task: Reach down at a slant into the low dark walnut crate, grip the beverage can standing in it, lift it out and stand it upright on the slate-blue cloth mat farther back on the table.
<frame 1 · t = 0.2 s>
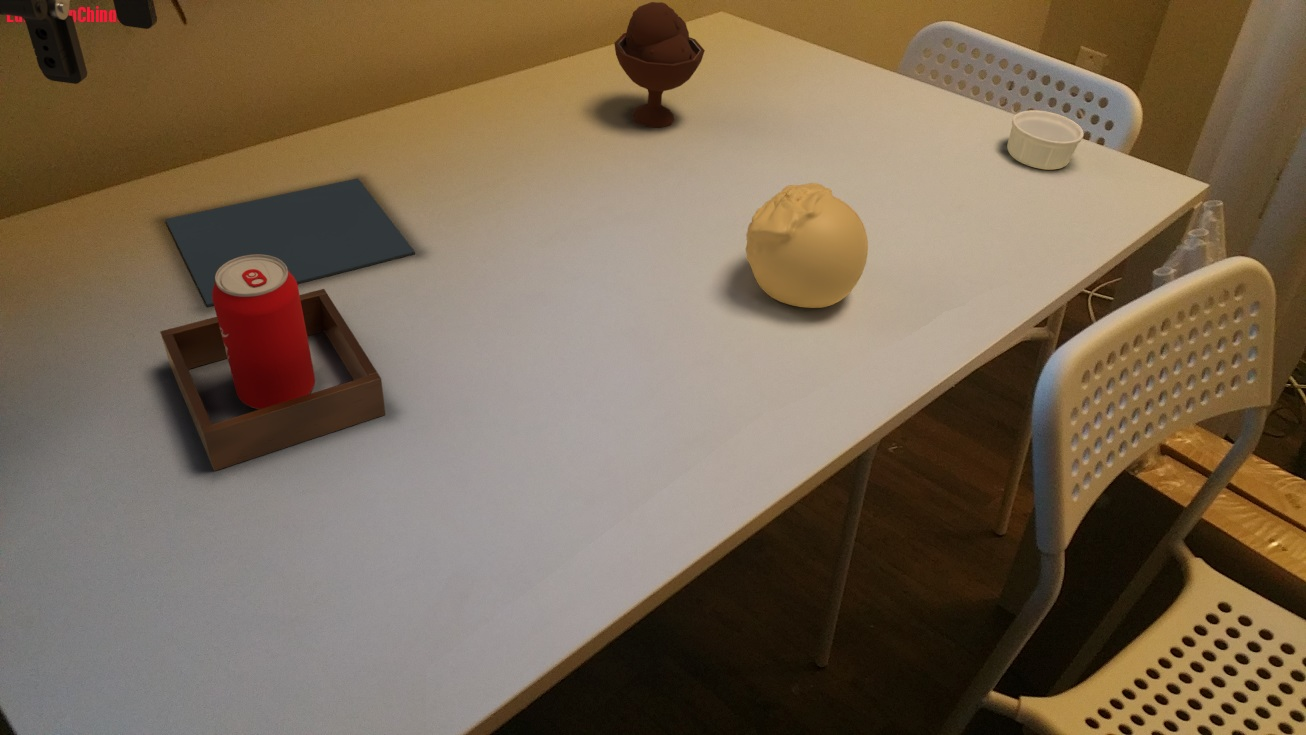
hand: (104, 51, 59), 31 cm above the table, tool pointing down, fingers open, 8 cm apart
beverage can: (277, 392, 82), resting in crate
crate: (277, 391, 82), on the table
ice cream bowl: (652, 119, 127), on the table
sculpture: (796, 289, 101), on the table
cloth mat: (290, 237, 99), on the table
ramekin: (1036, 157, 128), on the table
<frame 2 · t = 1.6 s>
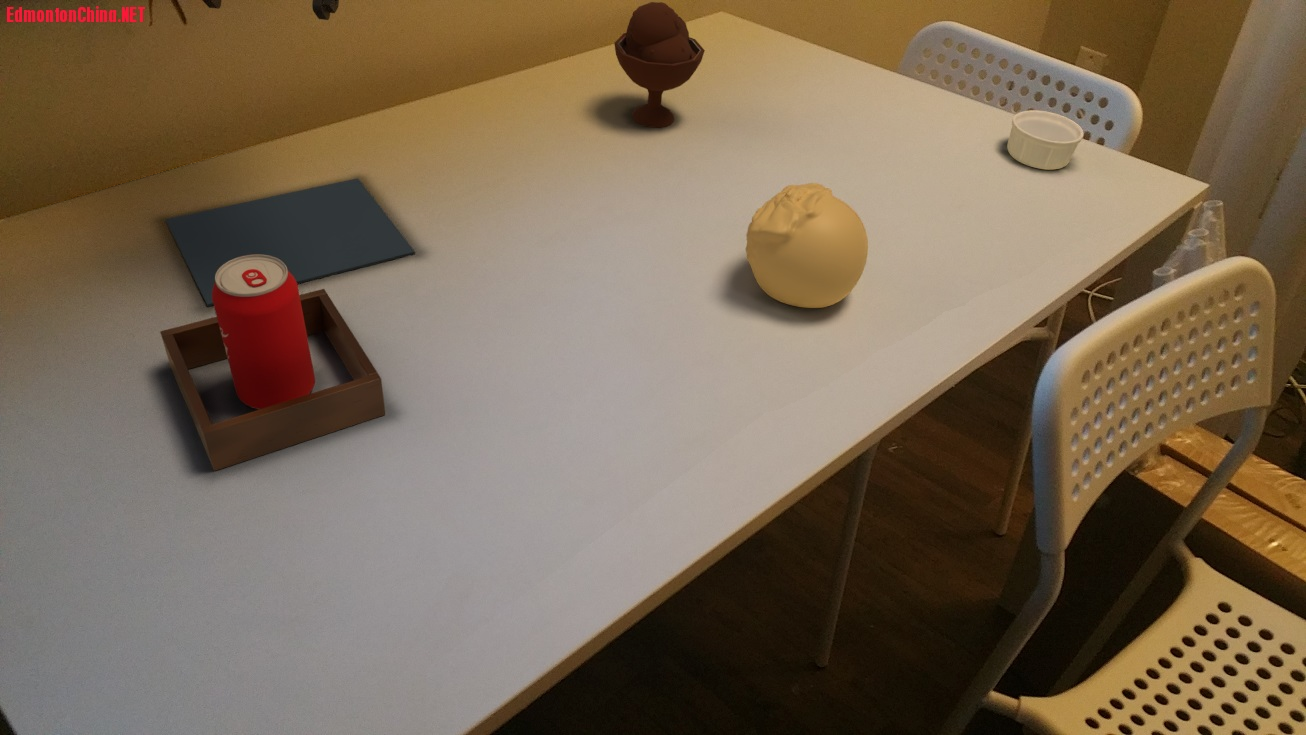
hand: (265, 10, 76), 27 cm above the table, tool tilted 45°, fingers open, 8 cm apart
nothing on the table moved.
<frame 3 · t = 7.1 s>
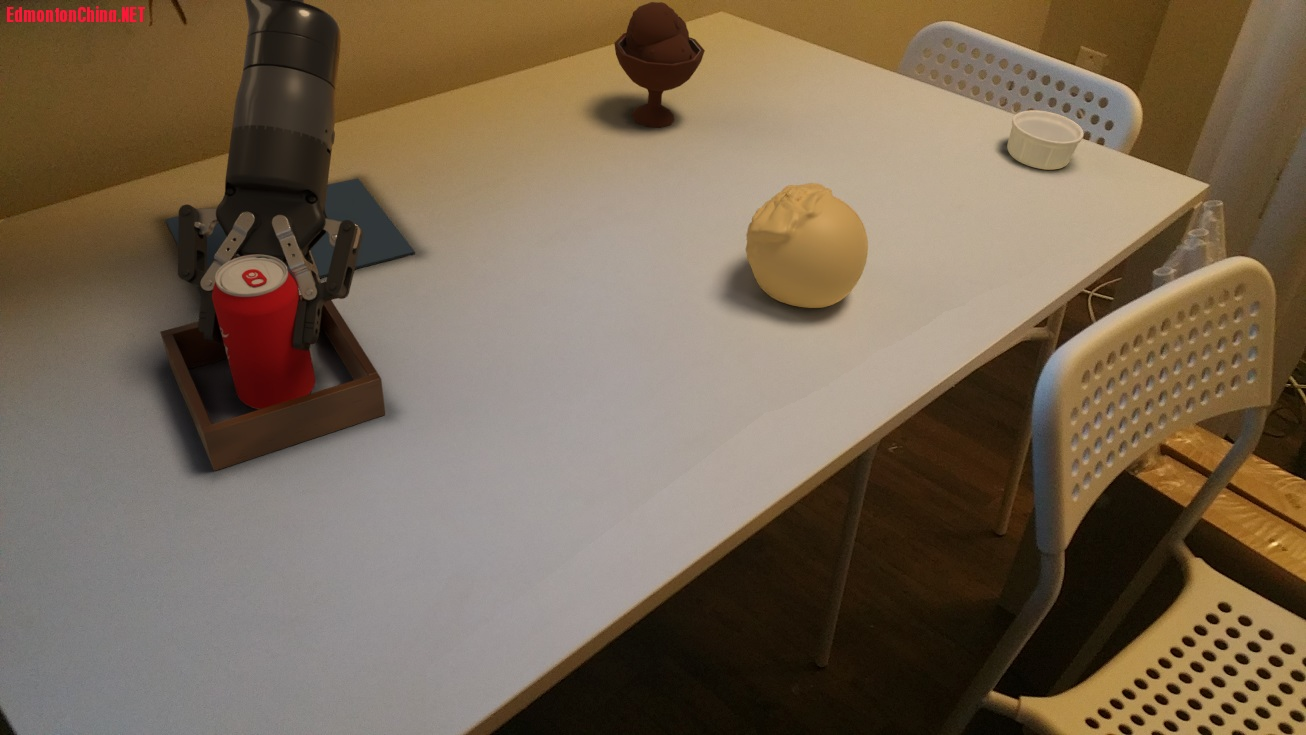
hand: (257, 345, 77), 6 cm above the table, tool tilted 45°, fingers closed on beverage can, 6 cm apart
beverage can: (277, 392, 82), resting in crate, touching gripper
everything else where it was.
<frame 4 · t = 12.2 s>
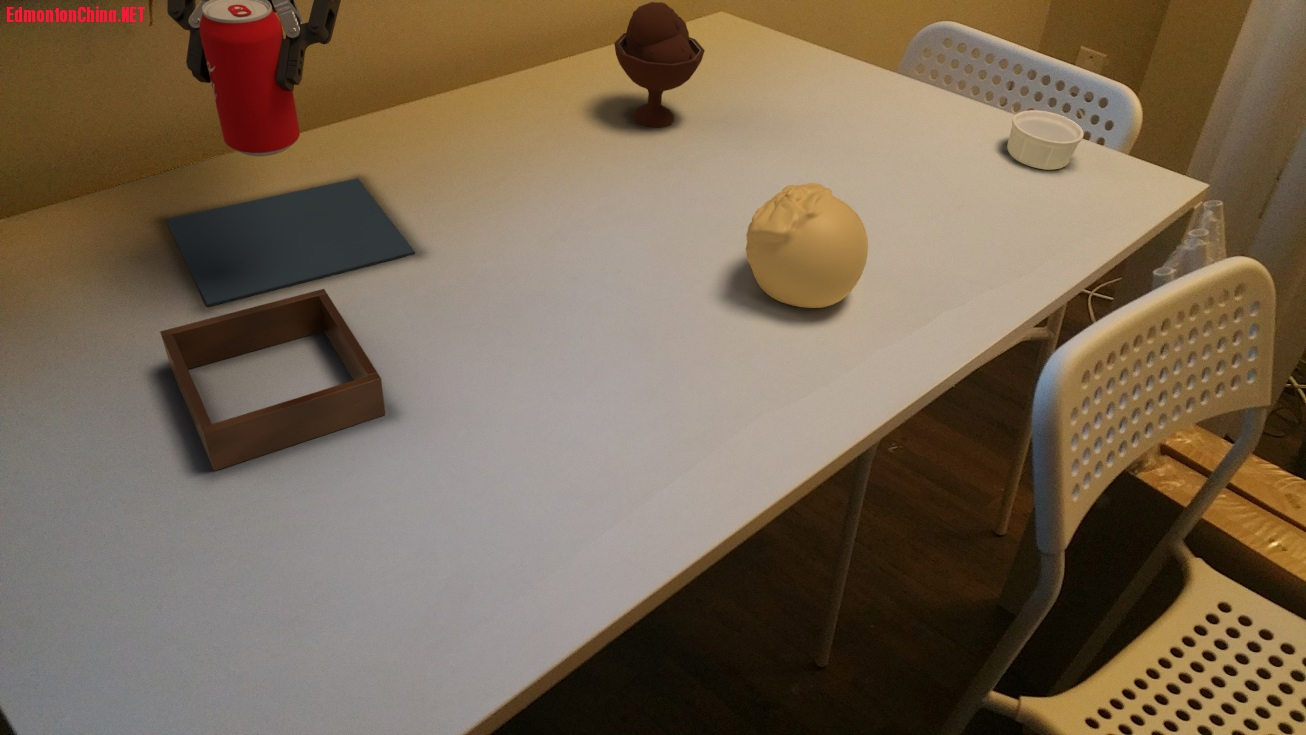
hand: (243, 83, 80), 20 cm above the table, tool tilted 45°, fingers closed on beverage can, 6 cm apart
beverage can: (263, 145, 86), point 14 cm above the table, touching gripper
everything else where it was.
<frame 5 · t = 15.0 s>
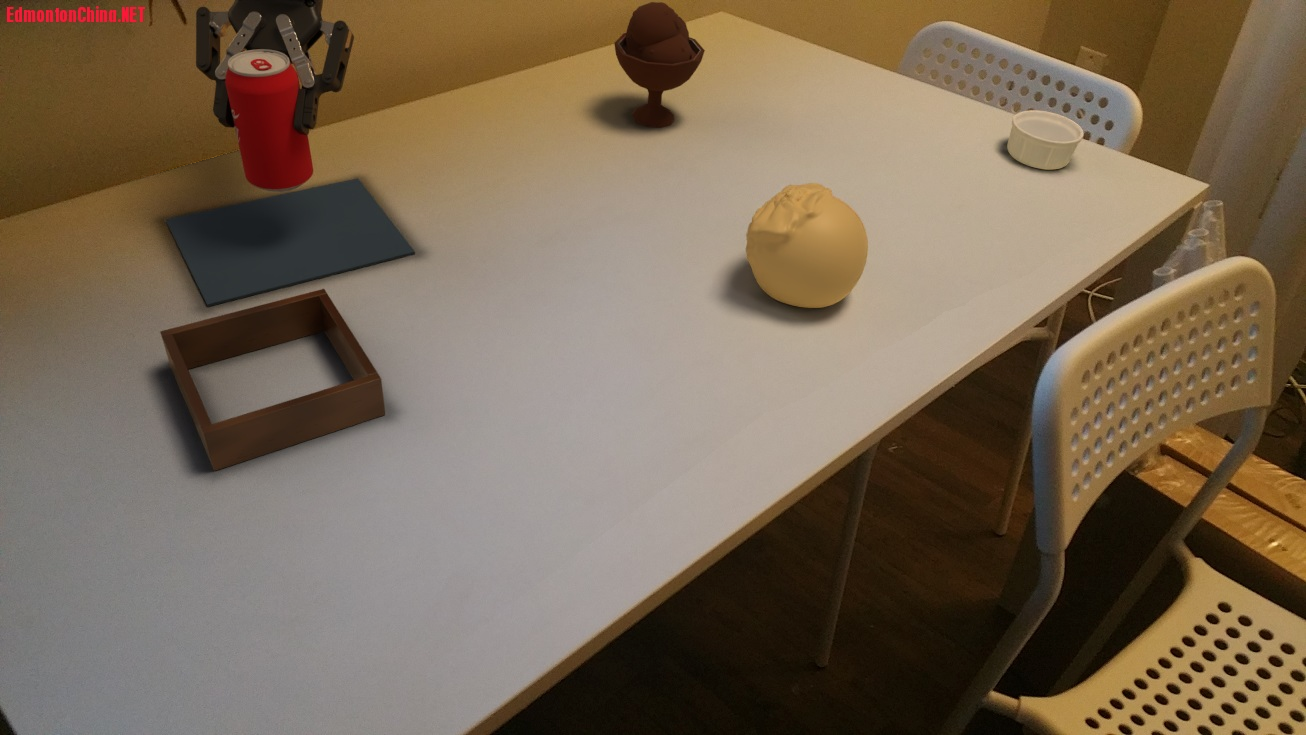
hand: (263, 128, 90), 13 cm above the table, tool tilted 45°, fingers closed on beverage can, 6 cm apart
beverage can: (281, 181, 95), point 6 cm above the table, touching gripper
everything else where it was.
when the fingers open (7 cm above the table, at t = 17.3 s): beverage can stays where it is, resting on cloth mat.
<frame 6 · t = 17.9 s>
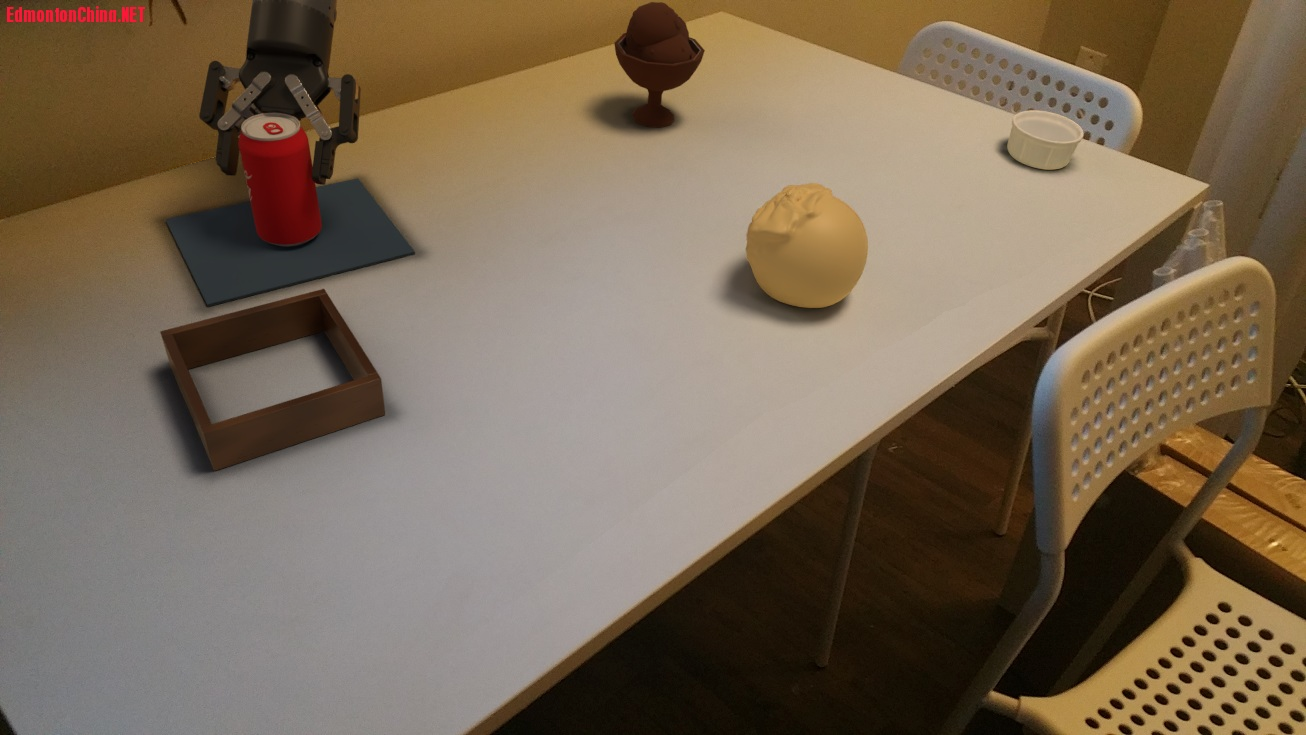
hand: (273, 178, 94), 8 cm above the table, tool tilted 45°, fingers open, 8 cm apart
beverage can: (290, 235, 99), resting on cloth mat
everything else where it was.
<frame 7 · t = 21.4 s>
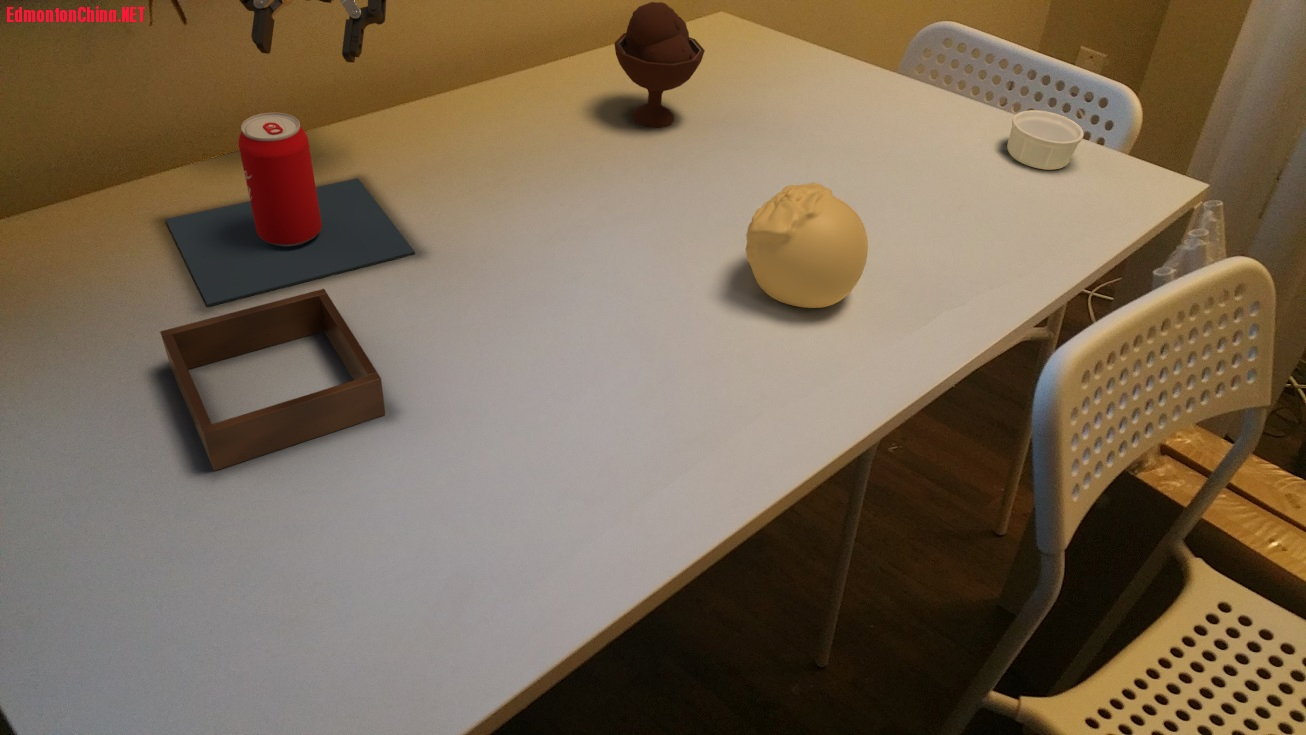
hand: (305, 55, 99), 14 cm above the table, tool tilted 45°, fingers open, 8 cm apart
nothing on the table moved.
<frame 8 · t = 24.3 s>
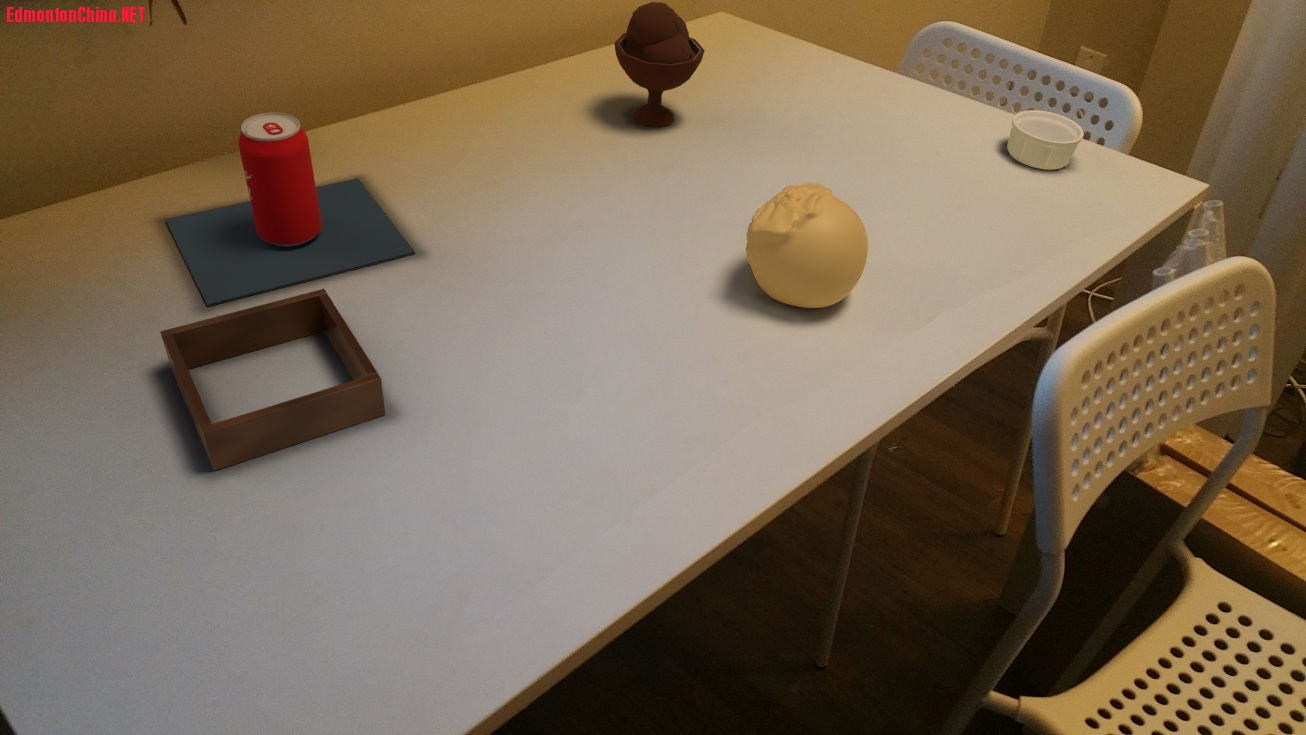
nothing on the table moved.
at the end: beverage can inside the target area on the cloth mat (0.1 cm from its centre), point 0.1 cm above the cloth mat's base; beverage can tilted 0°; the gripper is holding nothing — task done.
